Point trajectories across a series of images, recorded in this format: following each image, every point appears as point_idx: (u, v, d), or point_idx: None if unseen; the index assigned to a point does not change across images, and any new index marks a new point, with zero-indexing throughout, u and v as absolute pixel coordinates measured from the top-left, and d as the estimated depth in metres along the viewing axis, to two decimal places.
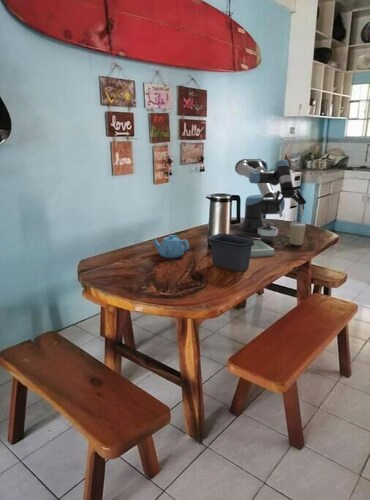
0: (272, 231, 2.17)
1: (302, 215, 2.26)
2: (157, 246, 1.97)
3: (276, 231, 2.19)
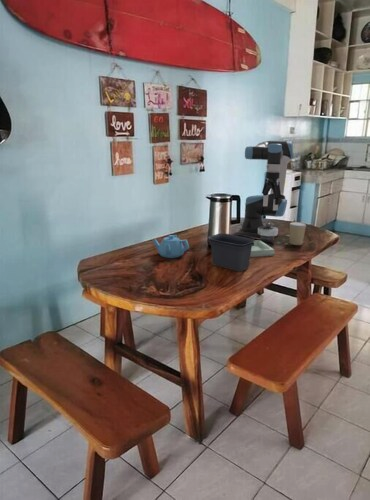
0: (272, 231, 2.17)
1: (276, 210, 2.12)
2: (157, 246, 1.97)
3: (276, 231, 2.19)
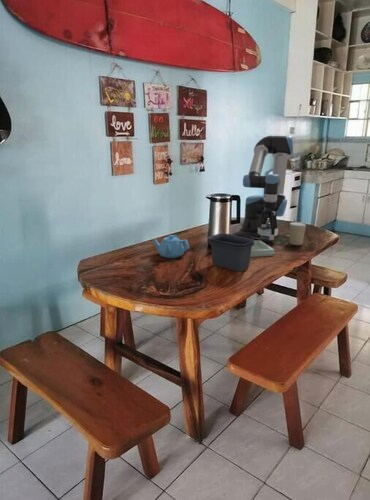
0: None
1: (273, 239, 2.18)
2: (157, 246, 1.97)
3: (276, 231, 2.19)
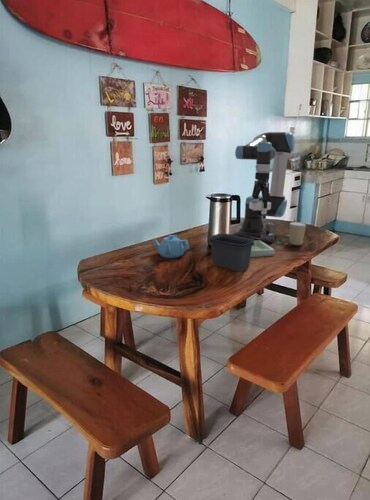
0: None
1: (265, 214, 2.00)
2: (157, 246, 1.97)
3: (269, 205, 2.02)
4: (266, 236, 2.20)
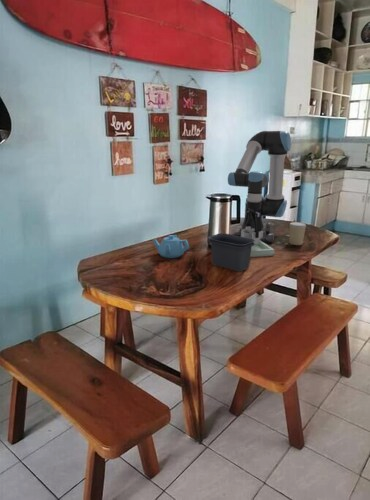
0: None
1: (257, 243, 1.99)
2: (157, 246, 1.97)
3: (261, 234, 2.00)
4: (266, 236, 2.20)
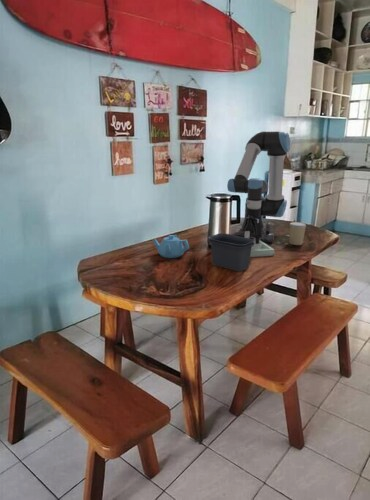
0: None
1: None
2: (157, 246, 1.97)
3: (260, 247, 2.02)
4: (266, 236, 2.20)
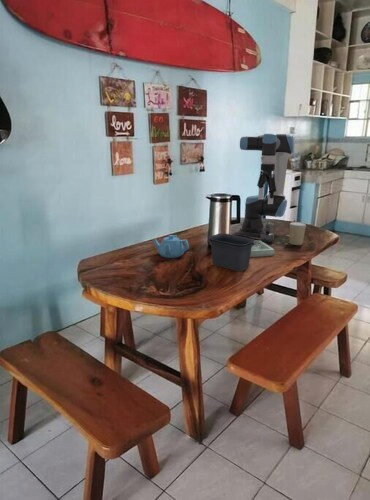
0: (255, 247, 2.00)
1: (271, 203, 2.03)
2: (157, 246, 1.97)
3: (260, 247, 2.02)
4: (266, 236, 2.20)
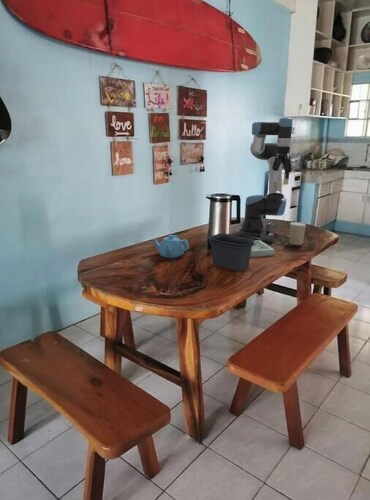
0: (255, 247, 2.00)
1: (287, 184, 2.14)
2: (157, 246, 1.97)
3: (260, 247, 2.02)
4: (266, 236, 2.20)
